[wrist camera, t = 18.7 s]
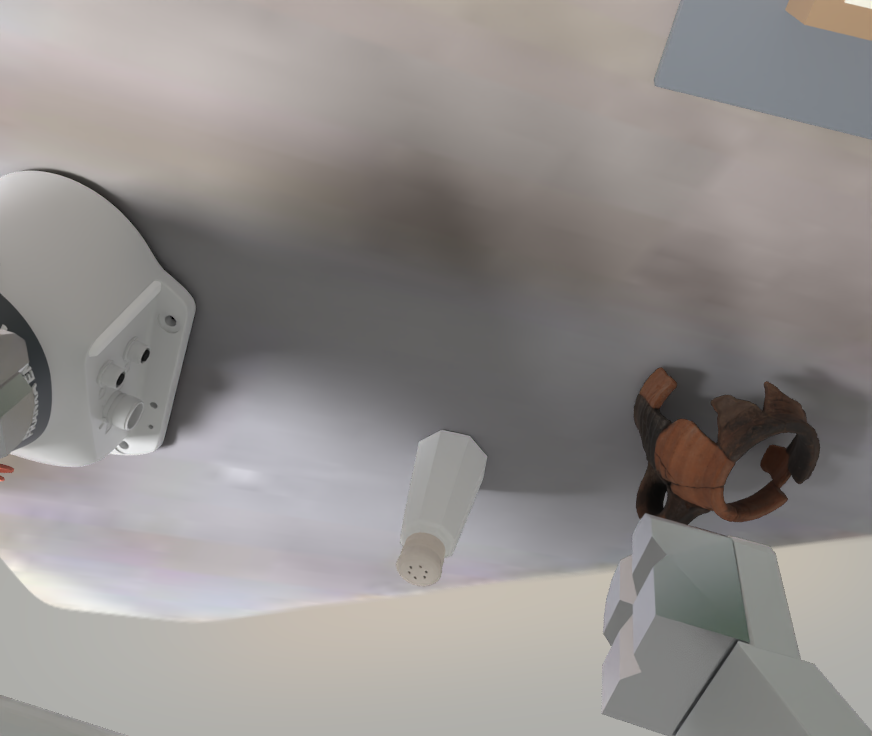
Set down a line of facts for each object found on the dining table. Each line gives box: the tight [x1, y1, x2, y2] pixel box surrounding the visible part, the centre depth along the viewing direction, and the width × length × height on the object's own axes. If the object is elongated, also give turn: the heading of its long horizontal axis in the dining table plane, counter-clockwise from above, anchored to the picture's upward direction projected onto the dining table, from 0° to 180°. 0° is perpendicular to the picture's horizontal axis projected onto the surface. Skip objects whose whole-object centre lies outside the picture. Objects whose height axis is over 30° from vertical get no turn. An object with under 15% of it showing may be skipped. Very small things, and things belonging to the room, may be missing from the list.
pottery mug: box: [634, 368, 820, 525], centre depth 47 cm, size 12×9×8 cm
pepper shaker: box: [396, 430, 487, 586], centre depth 50 cm, size 5×5×11 cm
